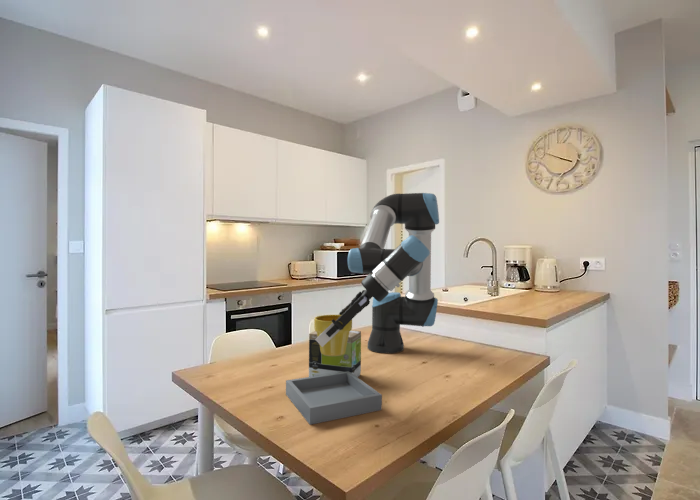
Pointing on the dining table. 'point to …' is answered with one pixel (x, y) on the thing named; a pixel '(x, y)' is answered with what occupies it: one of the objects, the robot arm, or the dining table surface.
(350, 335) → the tea box
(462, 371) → the dining table surface
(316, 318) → the plant pot
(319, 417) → the serving tray
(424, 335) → the dining table surface
